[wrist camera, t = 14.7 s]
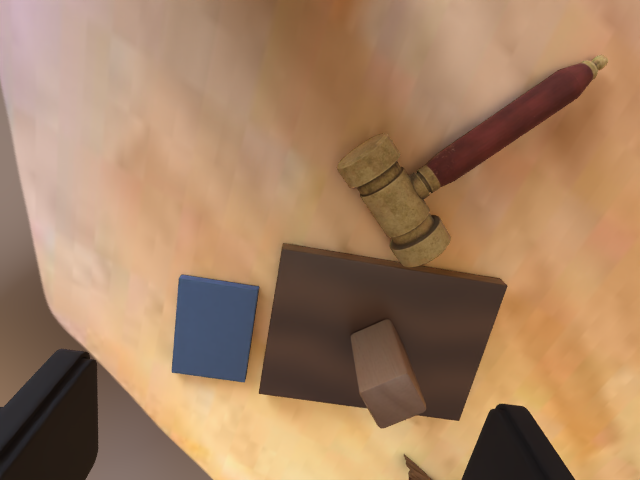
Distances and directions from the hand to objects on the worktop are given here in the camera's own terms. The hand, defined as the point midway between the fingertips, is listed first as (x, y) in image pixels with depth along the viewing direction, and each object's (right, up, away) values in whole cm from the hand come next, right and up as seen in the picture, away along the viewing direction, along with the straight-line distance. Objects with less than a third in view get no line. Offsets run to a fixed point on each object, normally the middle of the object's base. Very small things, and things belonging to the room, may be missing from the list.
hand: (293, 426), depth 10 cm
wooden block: (+6, -5, +28) cm, 29 cm away
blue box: (-9, -4, +29) cm, 31 cm away
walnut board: (+6, -5, +29) cm, 30 cm away
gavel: (+13, +13, +24) cm, 30 cm away
